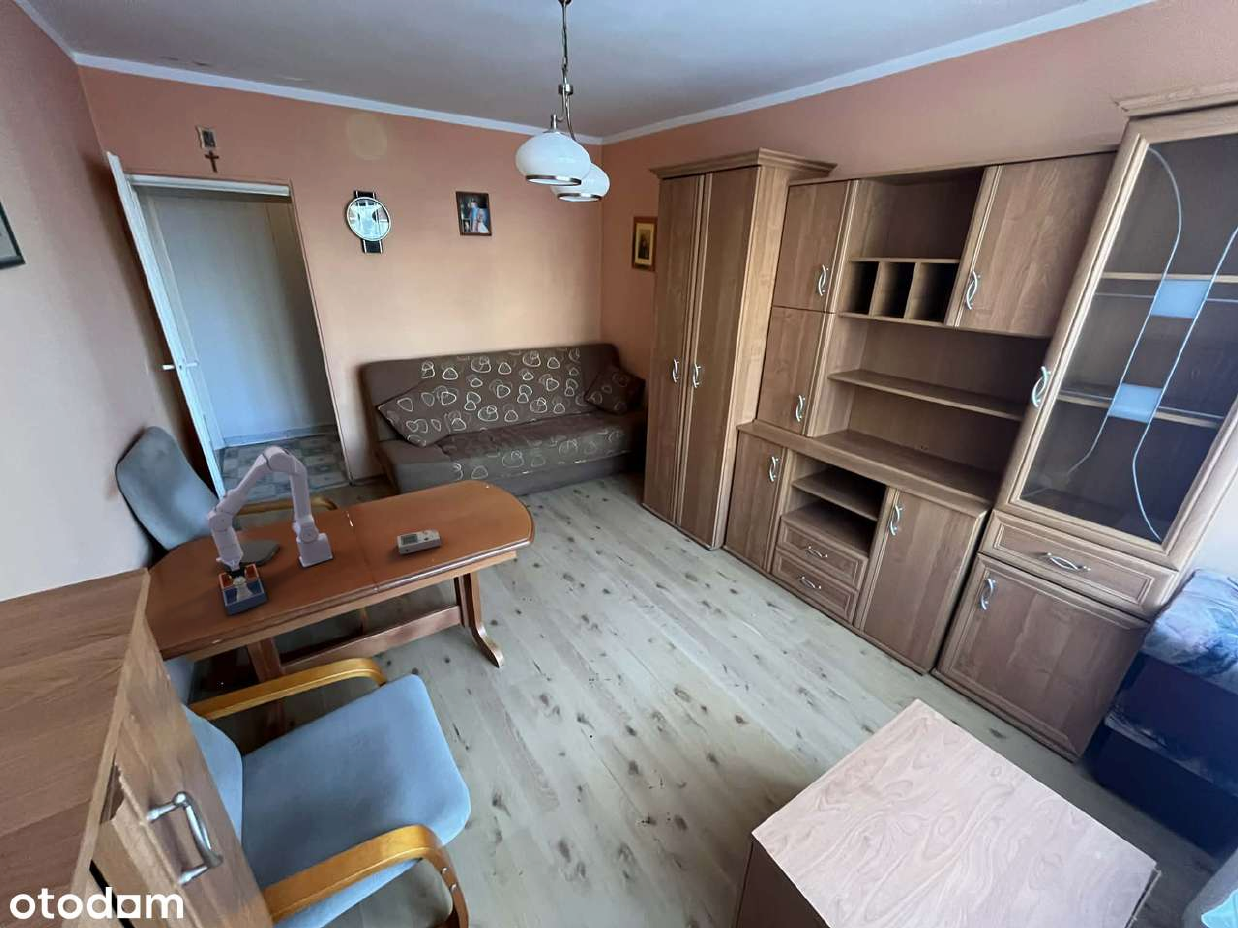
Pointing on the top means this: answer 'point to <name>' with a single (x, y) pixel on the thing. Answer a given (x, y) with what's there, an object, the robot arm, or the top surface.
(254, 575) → the terracotta bin
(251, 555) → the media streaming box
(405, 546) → the handheld gaming device
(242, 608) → the blue bin
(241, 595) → the rook chess piece
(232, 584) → the beech block
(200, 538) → the top surface
